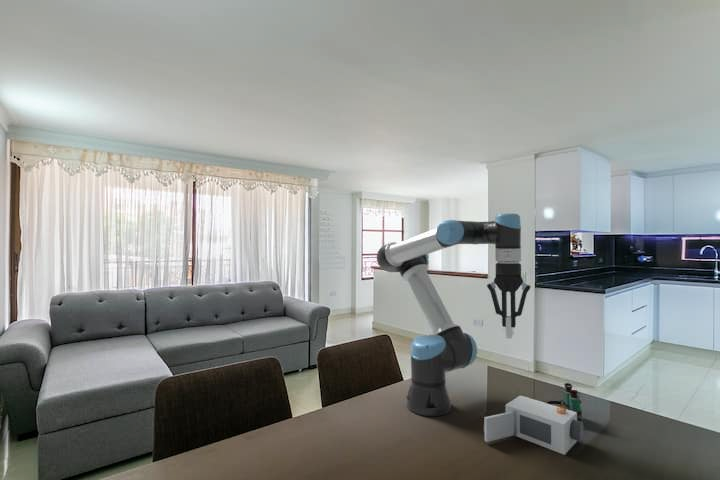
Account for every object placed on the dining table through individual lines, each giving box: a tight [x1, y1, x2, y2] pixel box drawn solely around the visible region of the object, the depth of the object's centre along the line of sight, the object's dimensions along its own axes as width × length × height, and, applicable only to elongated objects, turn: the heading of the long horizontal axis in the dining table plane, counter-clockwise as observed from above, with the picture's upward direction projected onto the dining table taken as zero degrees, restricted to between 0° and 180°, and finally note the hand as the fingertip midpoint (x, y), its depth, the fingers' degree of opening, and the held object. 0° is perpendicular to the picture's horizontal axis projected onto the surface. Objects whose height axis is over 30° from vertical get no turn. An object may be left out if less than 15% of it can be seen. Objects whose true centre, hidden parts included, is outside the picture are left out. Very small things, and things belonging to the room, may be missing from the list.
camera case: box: [505, 394, 585, 456], centre depth 104 cm, size 18×10×9 cm, turn 42°
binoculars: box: [546, 382, 584, 424], centre depth 115 cm, size 9×11×10 cm
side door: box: [483, 411, 516, 443], centre depth 103 cm, size 11×2×6 cm, turn 111°
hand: (509, 337), depth 114 cm, fingers closed
